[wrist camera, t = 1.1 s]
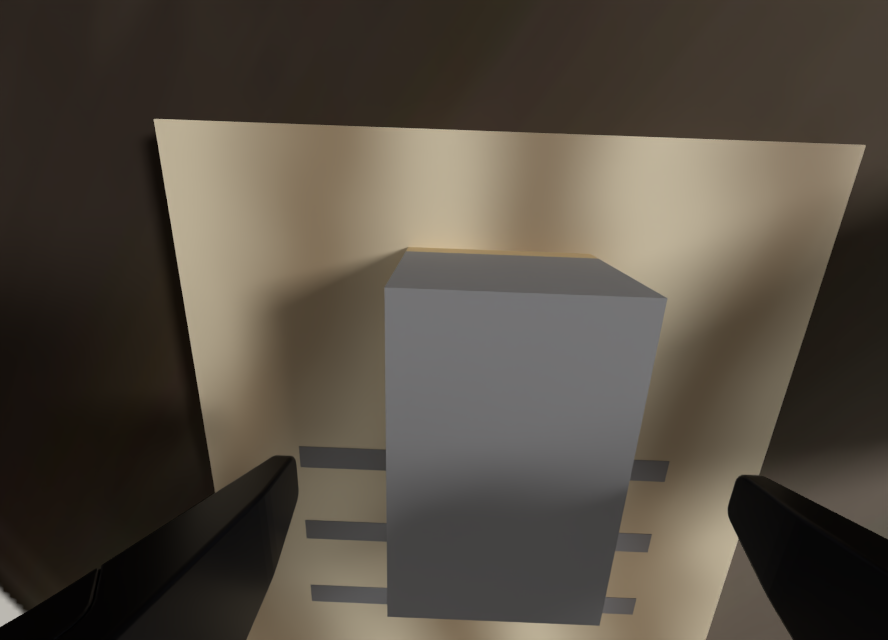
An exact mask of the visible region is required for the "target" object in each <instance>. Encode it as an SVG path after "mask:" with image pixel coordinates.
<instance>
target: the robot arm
mask: <svg viewBox="0 0 888 640" xmlns="http://www.w3.org/2000/svg"><path fill="white" fill-rule="evenodd" d="M298 494H299V487H298V475H297V464H296V460H295V458H294V457H293V456H285V455H275V456H272V457H270V458H269V459H267V460H266V461H264V462H263V463H261V464H259V465H258V466H256V467H255V468H253V469H252V470H250V471H248V472H247V473H245V474H244V475H242V476H241V477H239V478H237V479H236V480H234V481H233V482H231V483H230V484H228V485H226V486H225V487H223V488H222V489H220V490H219V491H217V492H216V493H214V494H212V495H211V496H209V497H208V498H206V499H205V500H203V501H201V502H200V503H198V504H197V505H195V506H194V507H192V508H190V509H189V510H187V511H186V512H184V513H183V514H181V515H179V516H178V517H176V518H175V519H173V520H172V521H170V522H169V523H167V524H165V525H164V526H162V527H161V528H159V529H158V530H156V531H154V532H153V533H151V534H150V535H148V536H147V537H145V538H143V539H142V540H140V541H139V542H137V543H136V544H134V545H132V546H131V547H129V548H128V549H126V550H125V551H123V552H121V553H120V554H118V555H117V556H115V557H114V558H112V559H110V560H109V561H107V562H106V563H104V564H103V565H102V566H101V569H99V568H97V569H95V570H93V571H91V572H90V573H88V574H87V575H85V576H84V577H82V578H81V579H79V580H77V581H76V582H74V583H73V584H71V585H69V586H68V587H66V588H65V589H63V590H61V591H60V592H58V593H57V594H55V595H53V596H52V597H50V598H48V599H47V600H45V601H44V602H42V603H40V604H39V605H37V606H35V607H34V608H32V609H31V610H29V611H27V612H25V613H24V614H22V615H20V616H19V617H17V618H15V619H13V620H12V621H10V622H8V623H7V624H5V625H3V626H1V627H0V640H247V637H248V635H249V633H250V631H251V628H252V626H253V624H254V621H255V619H256V617H257V614H258V612H259V610H260V607H261V605H262V603H263V600H264V598H265V596H266V593H267V591H268V589H269V586H270V584H271V581H272V579H273V576H274V574H275V571H276V568H277V565H278V561H279V558H280V555H281V552H282V549H283V545H284V542H285V539H286V536H287V532H288V529H289V526H290V523H291V520H292V516H293V513H294V510H295V507H296V504H297V500H298ZM728 517H729V520H730V522H731V524H732V526H733V528H734V530H735V532H736V534H737V537H738V539H739V541H740V543H741V545H742V547H743V549H744V551H745V553H746V555H747V557H748V559H749V561H750V563H751V565H752V567H753V569H754V571H755V573H756V575H757V577H758V579H759V581H760V583H761V585H762V587H763V589H764V591H765V593H766V595H767V597H768V599H769V600H770V602H771V604H772V606H773V607H774V609H775V611H776V612H777V614H778V616H779V617H780V619H781V621H782V622H783V624H784V626H785V627H786V629H787V631H788V632H789V634H790V636H791V637H792V639H793V640H888V539H886V538H884V537H882V536H880V535H878V534H876V533H874V532H872V531H870V530H868V529H866V528H864V527H862V526H860V525H858V524H857V523H855V522H853V521H851V520H849V519H847V518H845V517H843V516H841V515H839V514H837V513H835V512H833V511H831V510H829V509H827V508H825V507H823V506H821V505H819V504H817V503H815V502H813V501H811V500H809V499H807V498H805V497H803V496H801V495H800V494H798V493H796V492H794V491H792V490H790V489H788V488H786V487H784V486H782V485H780V484H778V483H776V482H774V481H772V480H770V479H768V478H766V477H764V476H760V475H740V476H738V478H737V479H736V481H735V484H734V487H733V491H732V494H731V497H730V500H729V504H728Z"/></svg>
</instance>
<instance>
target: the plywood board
mask: <svg viewBox="0 0 888 640" xmlns="http://www.w3.org/2000/svg"><path fill="white" fill-rule="evenodd" d="M154 124H155V130H156V136H157V142H158V148H159V155H160V161H161V167H162V173H163V179H164V185H165V191H166V197H167V203H168V209H169V215H170V221H171V227H172V233H173V239H174V246H175V252H176V258H177V264H178V270H179V276H180V282H181V288H182V294H183V300H184V306H185V312H186V318H187V324H188V330H189V337H190V343H191V349H192V355H193V361H194V367H195V373H196V379H197V385H198V391H199V397H200V403H201V409H202V415H203V421H204V428H205V434H206V440H207V446H208V452H209V458H210V464H211V470H212V476H213V482H214V488H215V493H216V492H217V491H219V490H220V489H222V488H223V487H225V486H226V485H228V484H230V483H231V482H233V481H234V480H236V479H237V478H239V477H241V476H242V475H244V474H245V473H247V472H248V471H250V470H252V469H253V468H255V467H256V466H258V465H259V464H261V463H263V462H264V461H266V460H267V459H269V458H270V457H272V456H275V455H285V456H293V457H294V458H295V460H296V464H297V475H298V487H299V494H298V500H297V504H296V507H295V510H294V513H293V516H292V520H291V523H290V526H289V529H288V532H287V536H286V539H285V542H284V545H283V549H282V552H281V555H280V558H279V561H278V565H277V568H276V571H275V574H274V576H273V579H272V581H271V584H270V586H269V589H268V591H267V593H266V596H265V598H264V600H263V603H262V605H261V607H260V610H259V612H258V614H257V617H256V619H255V621H254V624H253V626H252V628H251V631H250V633H249V635H248V637H247V640H706V637H707V634H708V631H709V628H710V625H711V622H712V619H713V616H714V612H715V609H716V606H717V603H718V600H719V597H720V594H721V591H722V588H723V585H724V582H725V579H726V575H727V572H728V569H729V566H730V563H731V560H732V557H733V554H734V551H735V548H736V545H737V542H738V537H737V534H736V532H735V530H734V528H733V526H732V524H731V522H730V520H729V517H728V504H729V500H730V497H731V494H732V491H733V487H734V484H735V481H736V479H737V478H738V476H740V475H759V474H760V471H761V467H762V464H763V461H764V458H765V455H766V452H767V449H768V446H769V443H770V440H771V437H772V434H773V430H774V427H775V424H776V421H777V418H778V415H779V412H780V409H781V406H782V403H783V400H784V396H785V393H786V390H787V387H788V384H789V381H790V378H791V375H792V372H793V369H794V366H795V363H796V359H797V356H798V353H799V350H800V347H801V344H802V341H803V338H804V335H805V332H806V329H807V326H808V322H809V319H810V316H811V313H812V310H813V307H814V304H815V301H816V298H817V295H818V292H819V289H820V285H821V282H822V279H823V276H824V273H825V270H826V267H827V264H828V261H829V258H830V255H831V251H832V248H833V245H834V242H835V239H836V236H837V233H838V230H839V227H840V224H841V221H842V218H843V214H844V211H845V208H846V205H847V202H848V199H849V196H850V193H851V190H852V187H853V184H854V181H855V177H856V174H857V171H858V168H859V165H860V162H861V159H862V156H863V153H864V150H865V147H866V145H850V144H823V143H796V142H768V141H741V140H714V139H687V138H659V137H632V136H605V135H578V134H550V133H523V132H496V131H469V130H442V129H414V128H387V127H360V126H333V125H305V124H278V123H251V122H224V121H196V120H169V119H154ZM408 247H423V248H449V249H475V250H502V251H528V252H554V253H581V254H591V255H593V256H595V257H597V258H598V259H600V260H602V261H604V262H605V263H607V264H609V265H610V266H612V267H614V268H616V269H617V270H619V271H621V272H623V273H624V274H626V275H628V276H630V277H631V278H633V279H635V280H636V281H638V282H640V283H642V284H643V285H645V286H647V287H649V288H650V289H652V290H654V291H656V292H657V293H659V294H661V295H662V296H664V297H666V298H667V303H666V308H665V313H664V318H663V322H662V327H661V332H660V337H659V342H658V347H657V351H656V356H655V361H654V366H653V371H652V375H651V380H650V385H649V390H648V395H647V400H646V404H645V409H644V414H643V419H642V424H641V428H640V433H639V438H638V443H637V448H636V453H635V457H634V462H633V467H632V472H631V477H630V481H629V486H628V491H627V496H626V501H625V506H624V510H623V515H622V520H621V525H620V530H619V534H618V539H617V544H616V549H615V554H614V559H613V563H612V568H611V573H610V578H609V583H608V587H607V592H606V597H605V602H604V607H603V612H602V616H601V621H600V626H593V625H570V624H546V623H522V622H499V621H475V620H451V619H428V618H404V617H387V519H386V407H385V294H384V287H385V286H386V284H387V282H388V281H389V279H390V277H391V276H392V274H393V272H394V271H395V269H396V267H397V265H398V264H399V262H400V260H401V259H402V257H403V255H404V254H405V252H406V250H407V249H408Z"/></svg>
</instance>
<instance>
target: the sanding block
mask: <svg viewBox="0 0 888 640" xmlns="http://www.w3.org/2000/svg"><path fill="white" fill-rule="evenodd" d="M384 294H385V407H386V519H387V617H404V618H428V619H451V620H475V621H499V622H522V623H546V624H570V625H593V626H600V621H601V616H602V612H603V607H604V602H605V597H606V592H607V587H608V583H609V578H610V573H611V568H612V563H613V559H614V554H615V549H616V544H617V539H618V534H619V530H620V525H621V520H622V515H623V510H624V506H625V501H626V496H627V491H628V486H629V481H630V477H631V472H632V467H633V462H634V457H635V453H636V448H637V443H638V438H639V433H640V428H641V424H642V419H643V414H644V409H645V404H646V400H647V395H648V390H649V385H650V380H651V375H652V371H653V366H654V361H655V356H656V351H657V347H658V342H659V337H660V332H661V327H662V322H663V318H664V313H665V308H666V303H667V298H666V297H664V296H662V295H661V294H659V293H657V292H656V291H654V290H652V289H650V288H649V287H647V286H645V285H643V284H642V283H640V282H638V281H636V280H635V279H633V278H631V277H630V276H628V275H626V274H624V273H623V272H621V271H619V270H617V269H616V268H614V267H612V266H610V265H609V264H607V263H605V262H604V261H602V260H600V259H598V258H597V257H595V256H593V255H591V254H581V253H554V252H528V251H502V250H475V249H449V248H423V247H408V249H407V250H406V252H405V254H404V255H403V257H402V259H401V260H400V262H399V264H398V265H397V267H396V269H395V271H394V272H393V274H392V276H391V277H390V279H389V281H388V282H387V284H386V286H385V287H384Z"/></svg>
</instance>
